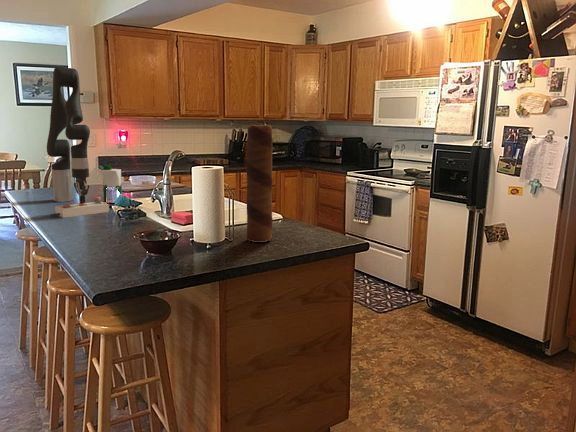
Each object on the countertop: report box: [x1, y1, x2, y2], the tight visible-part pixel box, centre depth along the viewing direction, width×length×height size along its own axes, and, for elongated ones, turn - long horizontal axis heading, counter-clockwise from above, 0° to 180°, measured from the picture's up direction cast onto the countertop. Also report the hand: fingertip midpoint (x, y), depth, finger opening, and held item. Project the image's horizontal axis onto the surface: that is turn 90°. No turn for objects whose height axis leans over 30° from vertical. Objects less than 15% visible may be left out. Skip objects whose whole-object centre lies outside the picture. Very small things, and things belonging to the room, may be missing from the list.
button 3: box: [93, 196, 102, 203], centre depth 236 cm, size 3×3×3 cm
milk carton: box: [101, 164, 123, 202], centre depth 259 cm, size 9×9×20 cm
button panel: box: [49, 201, 110, 218], centre depth 230 cm, size 9×26×5 cm, turn 136°
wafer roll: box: [245, 124, 274, 241], centre depth 184 cm, size 10×11×45 cm
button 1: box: [62, 203, 71, 208], centre depth 226 cm, size 3×3×3 cm
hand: (82, 203), depth 231 cm, fingers closed
